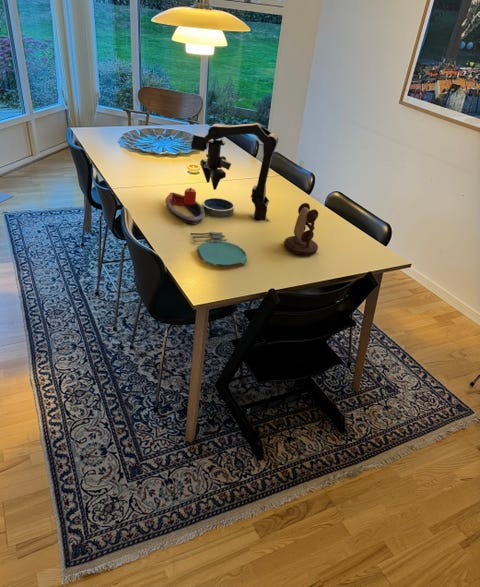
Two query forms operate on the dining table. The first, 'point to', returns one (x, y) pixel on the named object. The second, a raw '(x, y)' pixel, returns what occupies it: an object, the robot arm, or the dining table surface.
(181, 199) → the dish
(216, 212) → the bowl
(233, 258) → the cutlery set
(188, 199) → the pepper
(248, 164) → the dining table surface
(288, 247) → the brown upright piece
